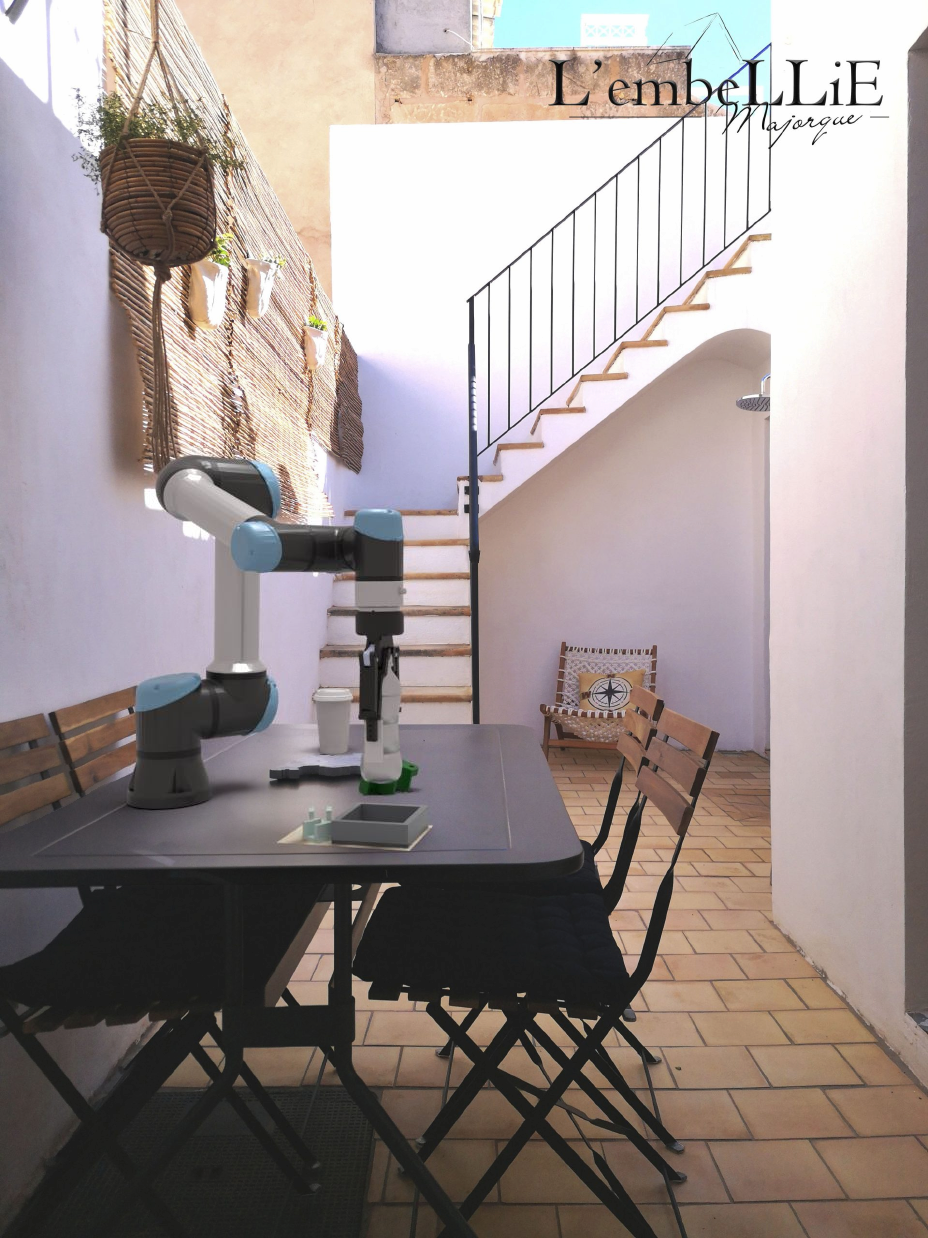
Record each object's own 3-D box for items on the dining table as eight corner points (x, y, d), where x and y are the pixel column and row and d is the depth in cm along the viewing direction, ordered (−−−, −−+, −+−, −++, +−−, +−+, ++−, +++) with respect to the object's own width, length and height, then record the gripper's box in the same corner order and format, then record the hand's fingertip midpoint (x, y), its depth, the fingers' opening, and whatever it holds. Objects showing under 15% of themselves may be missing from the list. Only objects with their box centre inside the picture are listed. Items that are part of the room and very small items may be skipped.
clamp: (384, 820, 168) (382, 783, 163) (360, 809, 171) (357, 772, 166) (422, 786, 176) (420, 749, 172) (398, 775, 179) (396, 739, 175)
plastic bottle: (380, 776, 143) (379, 652, 142) (411, 782, 138) (410, 654, 138) (351, 783, 138) (350, 654, 137) (382, 789, 133) (381, 656, 133)
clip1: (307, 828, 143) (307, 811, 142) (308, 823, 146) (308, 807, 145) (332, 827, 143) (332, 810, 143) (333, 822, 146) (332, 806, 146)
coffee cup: (311, 749, 218) (310, 688, 217) (349, 747, 221) (349, 687, 220) (316, 756, 209) (316, 693, 208) (357, 754, 212) (356, 691, 211)
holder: (331, 844, 134) (331, 821, 134) (357, 823, 146) (357, 802, 145) (408, 848, 131) (407, 825, 131) (428, 827, 143) (428, 805, 143)
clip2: (301, 838, 137) (301, 821, 137) (317, 834, 139) (317, 817, 139) (318, 843, 134) (318, 826, 134) (333, 839, 136) (333, 822, 136)
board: (276, 849, 135) (276, 842, 135) (311, 825, 148) (311, 819, 148) (409, 857, 130) (409, 850, 130) (432, 831, 144) (432, 825, 144)
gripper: (384, 611, 127) (385, 771, 128) (419, 608, 146) (420, 748, 147) (334, 611, 129) (336, 769, 129) (375, 608, 147) (377, 746, 148)
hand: (381, 757), depth 138 cm, fingers closed on plastic bottle, 6 cm apart
